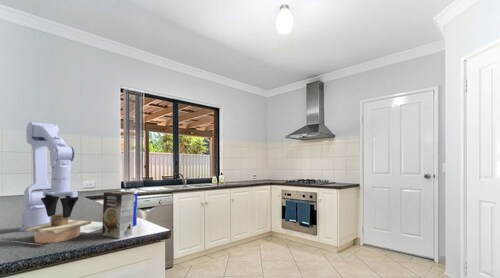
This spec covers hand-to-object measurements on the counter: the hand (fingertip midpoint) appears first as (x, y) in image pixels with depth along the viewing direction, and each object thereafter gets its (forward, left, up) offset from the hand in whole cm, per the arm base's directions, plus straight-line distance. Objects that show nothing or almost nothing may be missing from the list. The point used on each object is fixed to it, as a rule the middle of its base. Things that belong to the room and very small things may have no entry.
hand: (58, 216), depth 95 cm
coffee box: (+18, +9, -8) cm, 22 cm away
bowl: (0, 0, -8) cm, 8 cm away
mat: (-2, +15, -8) cm, 17 cm away
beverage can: (+13, +21, -8) cm, 26 cm away
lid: (0, 0, -4) cm, 4 cm away
